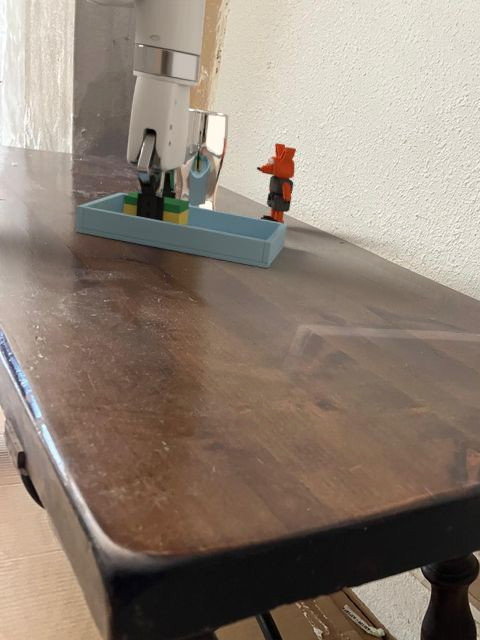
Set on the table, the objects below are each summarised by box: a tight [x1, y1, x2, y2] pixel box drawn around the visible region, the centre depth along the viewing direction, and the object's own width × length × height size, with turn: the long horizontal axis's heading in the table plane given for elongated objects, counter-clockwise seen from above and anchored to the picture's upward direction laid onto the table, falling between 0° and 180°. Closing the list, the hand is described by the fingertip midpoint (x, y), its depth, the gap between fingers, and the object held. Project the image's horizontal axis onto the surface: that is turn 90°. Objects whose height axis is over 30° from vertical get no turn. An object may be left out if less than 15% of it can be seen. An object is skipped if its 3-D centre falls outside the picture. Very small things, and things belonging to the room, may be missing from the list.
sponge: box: [124, 191, 189, 226], centre depth 94 cm, size 7×4×4 cm, turn 85°
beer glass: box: [178, 107, 230, 211], centre depth 109 cm, size 7×7×15 cm
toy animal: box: [256, 142, 297, 224], centre depth 115 cm, size 8×6×12 cm
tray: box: [75, 191, 288, 269], centre depth 96 cm, size 24×16×3 cm, turn 85°
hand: (155, 223), depth 94 cm, fingers closed on sponge, 4 cm apart
